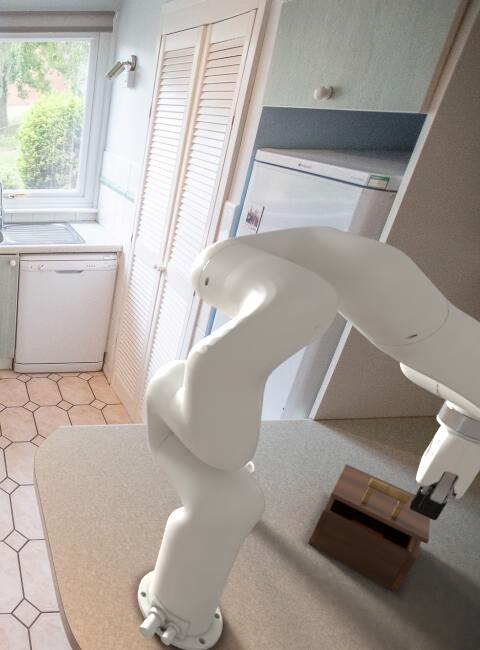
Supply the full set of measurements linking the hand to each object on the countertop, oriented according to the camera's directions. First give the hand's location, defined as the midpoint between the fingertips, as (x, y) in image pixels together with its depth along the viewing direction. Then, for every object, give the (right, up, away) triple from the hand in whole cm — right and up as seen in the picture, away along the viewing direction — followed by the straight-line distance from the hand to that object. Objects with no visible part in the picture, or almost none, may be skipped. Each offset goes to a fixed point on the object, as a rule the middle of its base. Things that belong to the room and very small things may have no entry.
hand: (422, 511), depth 73 cm
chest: (+1, -11, +13) cm, 17 cm away
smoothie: (-19, -7, +22) cm, 30 cm away
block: (-3, -12, +10) cm, 15 cm away
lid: (0, -2, +8) cm, 8 cm away
